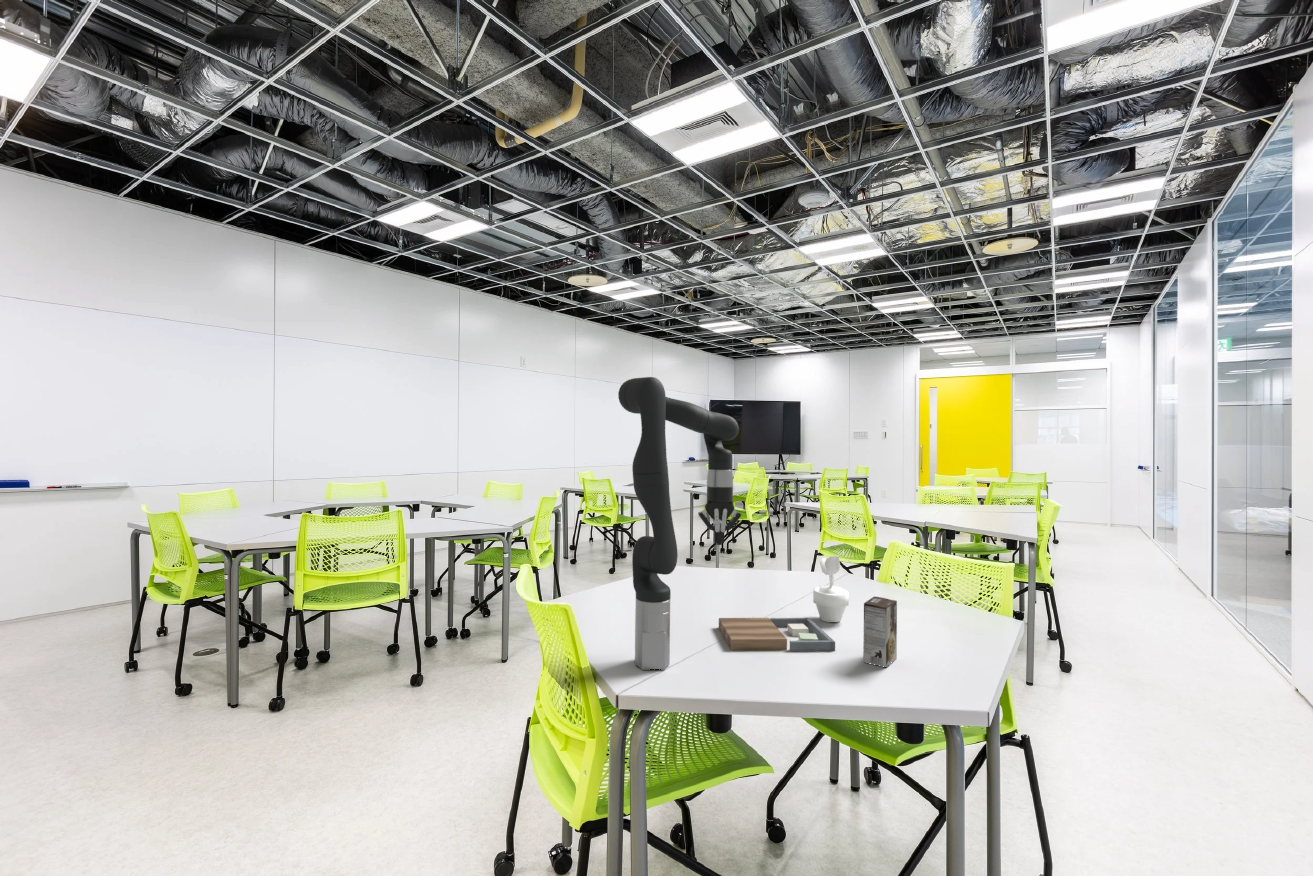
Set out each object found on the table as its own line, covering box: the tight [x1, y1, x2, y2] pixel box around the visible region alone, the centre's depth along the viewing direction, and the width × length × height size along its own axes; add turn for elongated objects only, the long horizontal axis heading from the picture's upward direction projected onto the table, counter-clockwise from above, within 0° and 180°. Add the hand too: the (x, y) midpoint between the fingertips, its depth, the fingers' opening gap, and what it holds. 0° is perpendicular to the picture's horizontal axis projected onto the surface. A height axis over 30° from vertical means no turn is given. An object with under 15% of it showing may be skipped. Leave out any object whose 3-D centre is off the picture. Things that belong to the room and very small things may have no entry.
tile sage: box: [798, 632, 819, 641], centre depth 167 cm, size 5×5×2 cm
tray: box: [769, 617, 836, 652], centre depth 172 cm, size 22×13×2 cm, turn 4°
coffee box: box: [862, 596, 898, 668], centre depth 155 cm, size 9×6×16 cm
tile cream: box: [787, 624, 810, 637], centre depth 176 cm, size 5×5×2 cm
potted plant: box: [812, 547, 851, 623], centre depth 190 cm, size 13×12×25 cm
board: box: [718, 617, 788, 651], centre depth 171 cm, size 20×16×3 cm
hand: (719, 544), depth 166 cm, fingers closed
